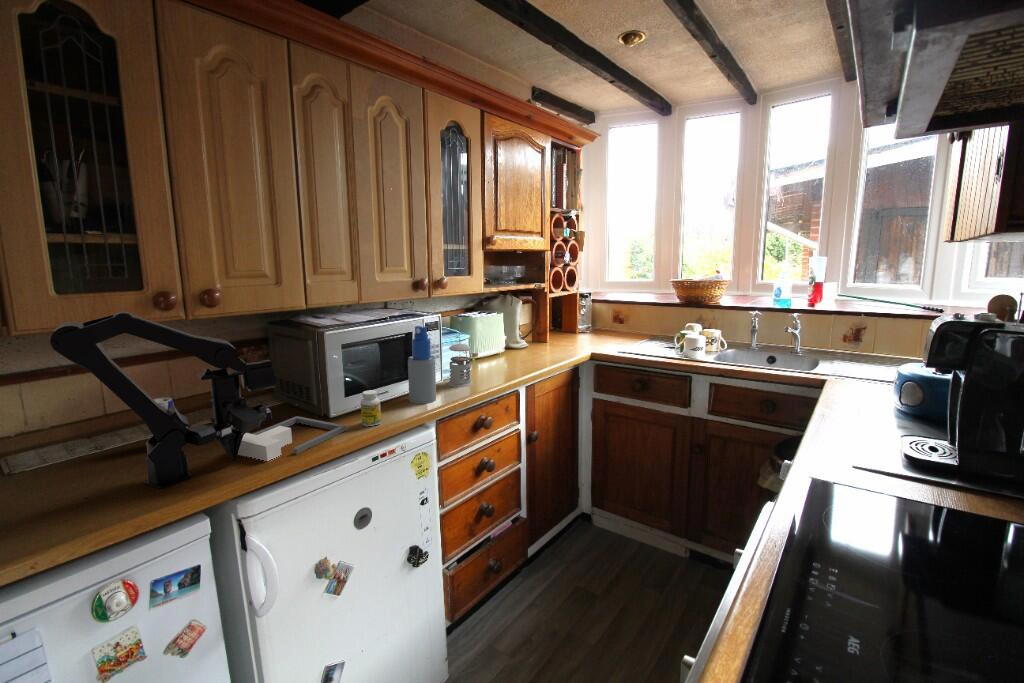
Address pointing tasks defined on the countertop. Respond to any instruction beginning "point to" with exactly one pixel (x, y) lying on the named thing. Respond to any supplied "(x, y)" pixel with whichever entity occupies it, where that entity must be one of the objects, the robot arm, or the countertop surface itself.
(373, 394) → the supplement bottle
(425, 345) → the spray bottle
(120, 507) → the countertop surface
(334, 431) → the grey rectangular rod frame
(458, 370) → the french press
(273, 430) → the t block
